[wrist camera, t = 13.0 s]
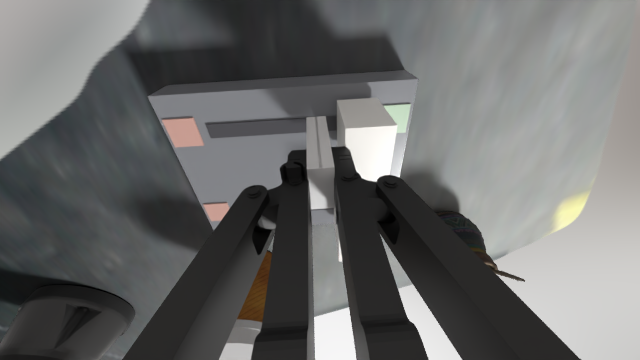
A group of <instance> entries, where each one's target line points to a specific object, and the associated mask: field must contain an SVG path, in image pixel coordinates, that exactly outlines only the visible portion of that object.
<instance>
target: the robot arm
mask: <svg viewBox="0 0 640 360" xmlns="http://www.w3.org/2000/svg"><path fill="white" fill-rule="evenodd" d="M306 124H307V149H305V150H292V151H291V152H290V153H289V154H288V159H287V160H288V161H287V162H286V163H284V164H283V165H281V167H280V174H281V179H282V184H281V185H280V186H278V187H275V188H273V189H269V190H267V188H266V187H265V186H262V185H253V186H249V187H247V188H245V189H244V190H243V191H242V192H241V193H240V195H239V196H238V198H237V199H236V200H235V202H234V203H233V205H232V206H231V207H230V209H229V210H228V212H227V213H226V215H225V216H224V217H223V219H222V220H221V222H220V223H219V224H218V226H217V227H216V229H215V230H214V231H213V233H212V234H211V236H210V237H209V238H208V240H207V241H206V243H205V244H204V245H203V247H202V248H201V250H200V251H199V252H198V254H197V255H196V257H195V258H194V259H193V261H192V262H191V264H190V265H189V267H188V268H187V269H186V271H185V272H184V274H183V275H182V276H181V278H180V279H179V281H178V282H177V283H176V285H175V286H174V288H173V289H172V290H171V292H170V293H169V295H168V296H167V297H166V299H165V300H164V302H163V303H162V304H161V306H160V307H159V309H158V310H157V311H156V313H155V314H154V316H153V317H152V319H151V320H150V321H149V323H148V324H147V326H146V327H145V328H144V330H143V331H142V333H141V334H140V335H139V337H138V338H137V340H136V341H135V342H134V344H133V345H132V347H131V348H130V349H129V351H128V352H127V354H126V355H125V356H124V358H123V359H122V360H219V358H220V356H221V354H222V351H223V349H224V347H225V345H226V342H227V340H228V338H229V336H230V333H231V331H232V329H233V327H234V324H235V322H236V320H237V318H238V315H239V313H240V311H241V309H242V306H243V304H244V302H245V300H246V297H247V295H248V293H249V290H250V288H251V286H252V284H253V281H254V279H255V277H256V275H257V272H258V270H259V268H260V266H261V263H262V261H263V259H264V257H265V254H266V252H267V250H268V248H269V245H270V243H271V241H272V239H273V236H274V234H275V236H274V243H273V250H272V257H271V264H270V271H269V278H268V285H267V292H266V299H265V306H264V314H263V321H262V327H261V330H260V333H259V334H258V335H257V336H256V338H255V341H254V345H253V350H252V356H251V360H315V347H314V299H313V253H312V215H311V209H325V208H335V207H336V224H337V227H338V234H339V241H340V247H341V254H342V261H343V268H344V275H345V282H346V288H347V295H348V302H349V309H350V316H351V322H352V329H353V335H354V342H355V349H356V358H357V360H428V357H427V354H426V351H425V348H424V346H423V343H422V340H421V337H420V335H419V332H418V330H417V328H416V327H415V325H414V324H413V323H412V322H410V321H409V319H408V318H407V315H406V313H405V310H404V307H403V304H402V301H401V298H400V295H399V291H398V288H397V285H396V282H395V279H394V276H393V273H392V270H391V267H390V264H389V261H388V258H387V255H386V252H385V249H384V246H383V242H382V239H381V236H382V237H383V239H384V240H385V242H386V243H387V245H388V246H389V248H390V249H391V251H392V253H393V254H394V256H395V257H396V259H397V260H398V262H399V263H400V265H401V266H402V268H403V269H404V271H405V272H406V274H407V276H408V277H409V279H410V280H411V282H412V283H413V285H414V286H415V288H416V289H417V291H418V292H419V294H420V295H421V297H422V298H423V300H424V301H425V303H426V304H427V306H428V308H429V309H430V311H431V312H432V314H433V315H434V317H435V318H436V320H437V321H438V323H439V325H440V326H441V328H442V329H443V331H444V332H445V334H446V335H447V337H448V338H449V340H450V341H451V343H452V344H453V346H454V347H455V349H456V350H457V352H458V354H459V355H460V357H461V358H462V360H581V359H579V358H578V357H577V356H576V355H575V354H574V353H573V352H572V351H571V350H570V349H569V348H568V347H567V345H566V344H564V342H562V340H561V339H560V338H558V336H557V335H556V334H555V333H554V332H553V331H552V330H551V329H550V328H549V327H548V326H546V324H545V323H544V322H542V320H541V319H540V318H539V317H538V316H537V315H536V314H535V313H534V312H533V311H532V310H531V309H530V308H529V307H528V306H527V305H526V304H525V303H524V302H523V301H522V300H521V299H520V298H519V297H518V296H517V295H516V294H515V293H514V292H513V291H512V290H511V289H510V288H509V287H508V286H507V285H506V284H505V283H504V282H503V281H502V280H501V279H500V278H499V277H498V276H497V275H496V274H495V273H494V272H493V271H492V270H491V269H490V268H489V267H488V266H487V265H486V264H485V263H484V262H483V261H482V260H481V259H480V258H479V257H478V256H477V255H476V254H475V253H474V252H473V251H472V250H471V249H470V248H469V247H468V246H467V245H466V244H465V243H464V242H463V240H462V239H461V238H460V237H459V236H458V235H457V234H456V233H455V232H454V231H453V230H452V229H451V228H450V227H449V226H448V225H447V224H446V223H445V222H444V221H443V220H442V219H441V218H440V217H439V216H438V215H437V214H436V213H435V212H434V211H433V210H432V209H431V208H430V207H429V206H428V205H427V204H426V203H425V202H424V201H423V200H422V199H421V198H420V197H419V196H418V195H417V194H416V193H415V192H414V191H413V190H412V189H411V188H410V187H409V186H408V185H407V184H406V183H405V182H404V181H403V180H402V179H400V178H399V177H397V176H393V175H384V176H381V177H379V178H378V179H377V182H375V181H369V180H365V179H363V178H361V176H360V174H359V173H357V172H356V169H355V165H354V162H353V159H352V156H351V152H350V150H349V149H348V148H347V147H345V146H340V147H331V144H330V139H329V133H328V127H327V122H326V116H318V117H306ZM380 234H381V236H380ZM134 317H135V311H134V309H133V308H132V307H131V306H130V305H129V304H128V303H127V302H125V301H124V300H122V299H120V298H118V297H116V296H114V295H111V294H109V293H106V292H103V291H99V290H96V289H92V288H87V287H81V286H73V285H50V286H44V287H41V288H38V289H36V290H35V291H33V293H32V294H31V295H30V296H29V297H28V298H27V299H26V300H25V301H24V302H23V303H22V304H21V305H20V307H19V309H18V312H17V315H16V317H15V318H14V320H13V322H12V323H11V325H10V327H9V329H8V331H7V332H6V334H5V336H4V338H3V340H2V342H1V344H0V360H99V359H100V358H101V357H102V356H103V355H104V354H105V353H106V352H107V351H108V349H109V348H110V347H111V346H112V345H113V344H114V342H115V341H116V340H117V339H118V338H119V336H121V335H123V334H124V333H125V332H126V331H127V329H128V328H129V326H130V324H131V322H132V321H133V319H134Z"/></svg>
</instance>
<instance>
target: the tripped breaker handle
mask: <svg viewBox="0 0 640 360" xmlns="http://www.w3.org/2000/svg"><path fill="white" fill-rule="evenodd" d="M397 126H398V125H397V124H396V122H395V121H394V120H393V118H392V117H391V116H390V114H389V113H388V112H387V110H386V109H385V108H384V106H383V105H382V104H381V102H380V101H379V100H378V98H363V99H347V100H337V147H340V146H345V147H347V148H348V149H349V150H350V152H351V156H352V159H353V162H354V165H355V169H356V172H357V173H359V174H360V176H361V178H363V179H365V180H369V181H375V182H376V181H377V179H378V178H379V177H381V176H384V175H390V169H391V163H392V157H393V151H394V145H395V139H396V133H397Z"/></svg>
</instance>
